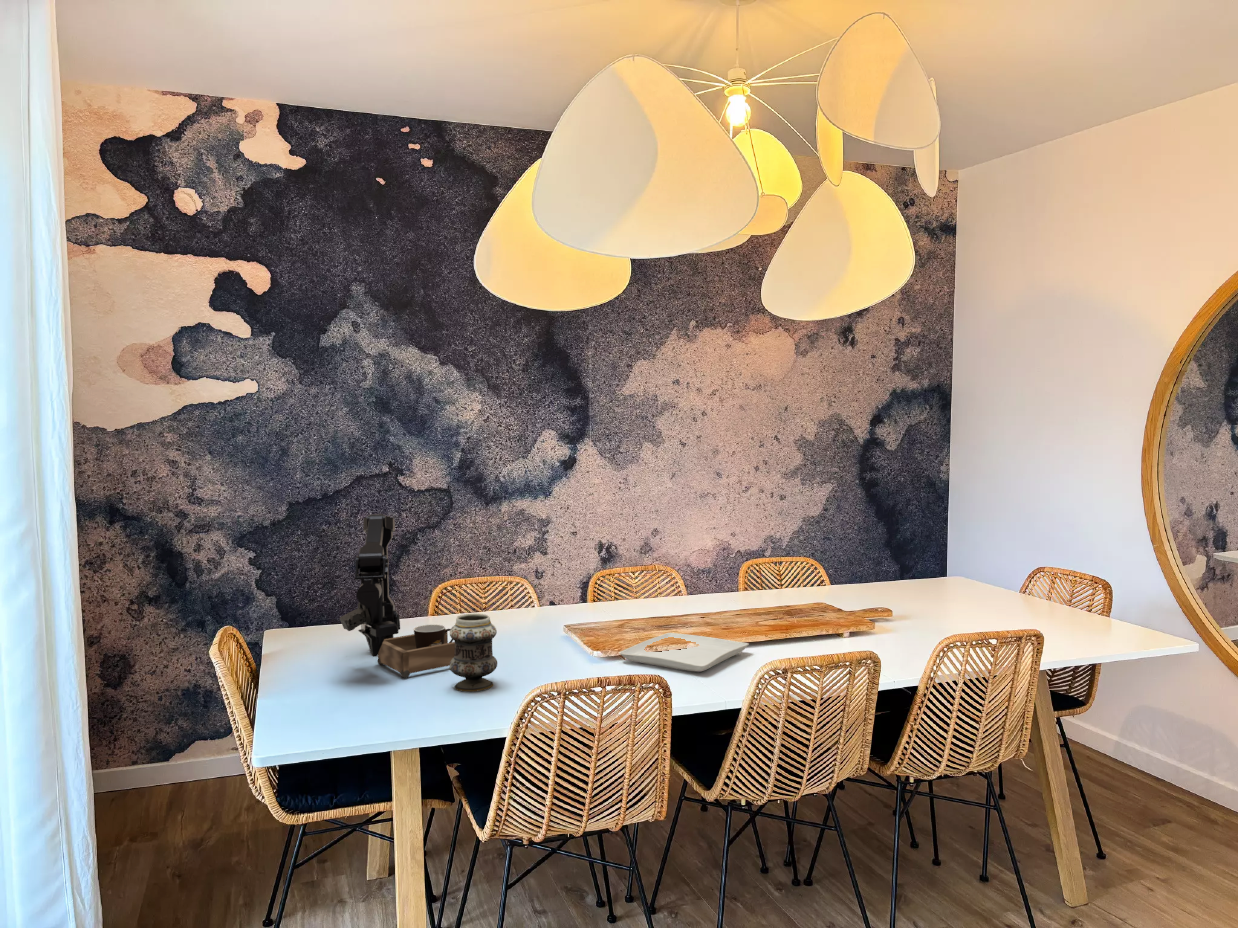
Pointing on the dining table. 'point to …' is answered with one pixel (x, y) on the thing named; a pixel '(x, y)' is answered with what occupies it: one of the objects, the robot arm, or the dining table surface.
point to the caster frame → (414, 655)
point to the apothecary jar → (473, 651)
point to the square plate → (686, 652)
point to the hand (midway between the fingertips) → (374, 656)
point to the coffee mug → (429, 635)
